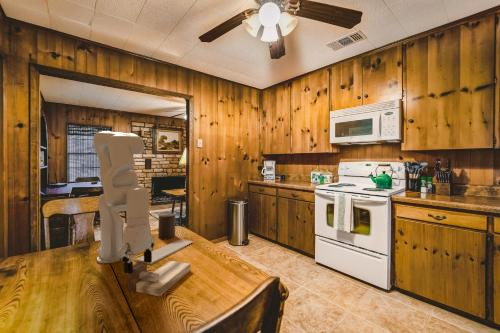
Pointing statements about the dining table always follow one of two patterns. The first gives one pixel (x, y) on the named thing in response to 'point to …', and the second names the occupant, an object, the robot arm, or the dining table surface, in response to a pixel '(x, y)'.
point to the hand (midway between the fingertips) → (138, 267)
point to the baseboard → (166, 251)
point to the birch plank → (164, 278)
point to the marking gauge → (140, 275)
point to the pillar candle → (166, 225)
